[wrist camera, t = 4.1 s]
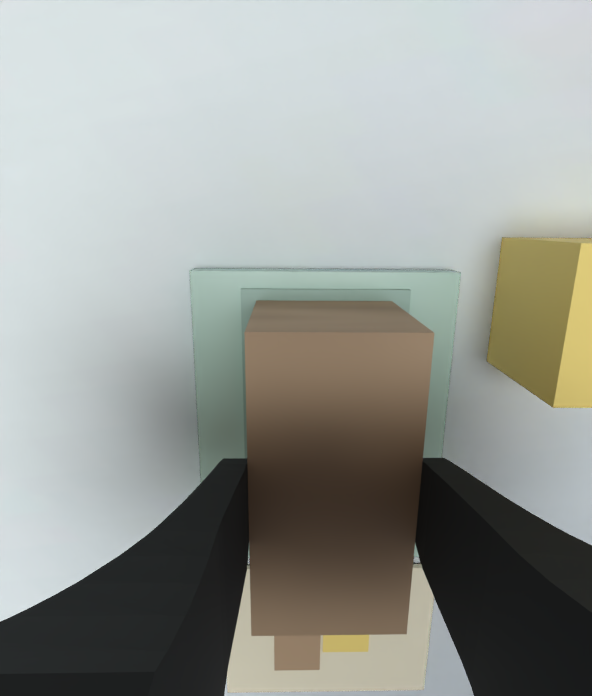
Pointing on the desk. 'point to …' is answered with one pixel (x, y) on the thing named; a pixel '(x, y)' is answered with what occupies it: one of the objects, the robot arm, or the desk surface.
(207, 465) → the baseplate
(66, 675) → the robot arm
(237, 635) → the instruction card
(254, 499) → the walnut brick
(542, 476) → the desk surface
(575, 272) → the ochre cube
